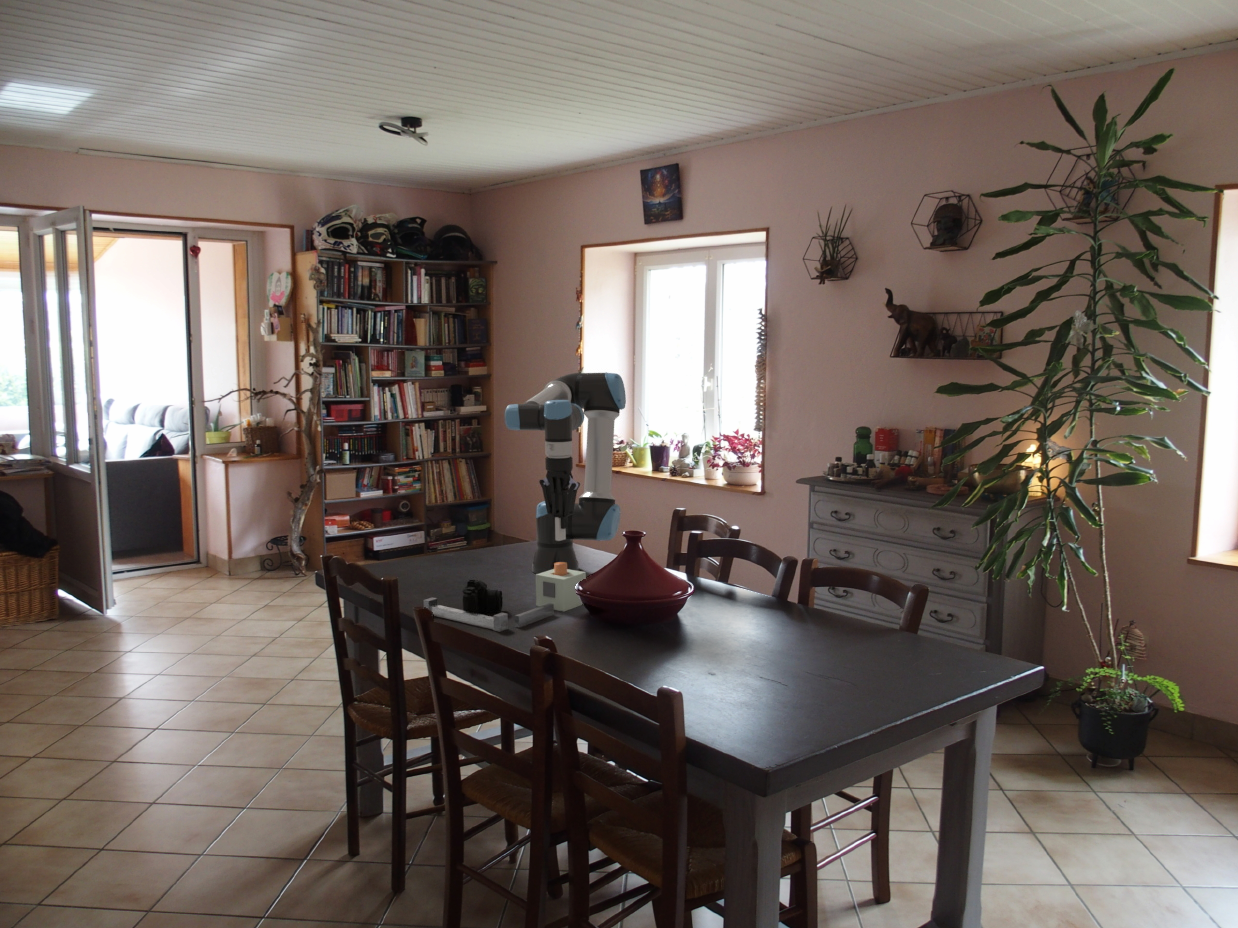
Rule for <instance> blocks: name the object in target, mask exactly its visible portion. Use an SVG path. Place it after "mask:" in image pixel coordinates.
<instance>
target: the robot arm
mask: <svg viewBox="0 0 1238 928" xmlns="http://www.w3.org/2000/svg"><path fill="white" fill-rule="evenodd" d="M626 397H627V396H626V388H625V384H624V380H623V378H622V377H621V375H620V374H618V373H612V372H572V373H568V374H564V375H562V376H560V377H557V378H554V379H553V380H551V381H549V382H548V383H547V384H546V385H545V386H544V388H543V390H542V391H540V392H539V393H537V394H536V395H534V396H532V397H531V398H529V399H528V400H527V401H525V402H524V403H520V404H519V403H515V404H514V403H512V404H508V405H507V406H506V408H505V411H504V423H505V427H506V428H507V429H508V430H511V431H517V432H518V431H542V432H543V431H544V449H545V450H544V451H545V456H546V457H545V459H544V460H545V470H546V474H545V477H544V478H542V479H539V480H538V482H539V485H540V487H541V488H542V493H543V498H544V501H541V502H539V503H538V504H537V505H536V516H535V519H536V521H535V522H536V523H535V524H536V550H535V553H534V556H533V560H532V563H531V572H532V573H534V574H535V575H536V574H539V573H542V572H546V571H549V570H552V569H554V563H556V562H566V563H567V569H570V570H576V571H580V570H579V569H580V567H579V564H580V563H579V561H578V559H577V554H576V551H575V548H574V540H577V541H579V540H580V541H597V542H600V541H601V542H602V541H611V540H613V539H614V538H615V537H616V535H617V533H618V529H619V527H620V526H619V525H620V520H621V507H620V505H619V504H617V503H616V498H615V497H614V496H613V495H612V477H613V476H612V475H613V456H614V455H613V454H614V438H615V436H614V435H615V420H616V419H618V417H620V413H621V411H622V410H624V409H625V408H626V401H627V399H626ZM620 410H621V411H620ZM585 417H586V418H587V433H586V447H585V448H586V449H585V450H586V451H585V454H586V455H585V471H584V472H585V473H584V487H583V488H584V489H583V493H582V494H581V495H580V496H579V497H578V503H577V502H576V500H577V493H578V490H579V488H580V486H581V483H580V482H579V481H575V480H574V476H573V474H572V473H573V472H572V471H573V468H574V467H573V464H574V463H573V457H572V455H573V452H574V451H573V431H575V430H577V429H578V428H580V427H581V426H582V425H583V423H584V421H585Z"/></svg>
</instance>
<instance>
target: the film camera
mask: <svg viewBox="0 0 1238 928" xmlns="http://www.w3.org/2000/svg"><path fill="white" fill-rule="evenodd" d="M461 592H462V610H463V611H468V612H472V613H477V614H481V615H485V613H487V614H488V613H489V614H490V613H497V612H499V613H500V612H501V611H502V609H503V604H504V603H503V592H502V590H498V589H490V588H488V584H486V582H483V581H482V580H477V579H469V580H468V581H467V582H466V586H465V587H464V588H463V589H462V591H461Z"/></svg>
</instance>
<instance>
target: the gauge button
mask: <svg viewBox="0 0 1238 928" xmlns="http://www.w3.org/2000/svg"><path fill="white" fill-rule="evenodd" d="M554 575H559V576H564V575H567V563H566V562H556V563H554Z"/></svg>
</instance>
